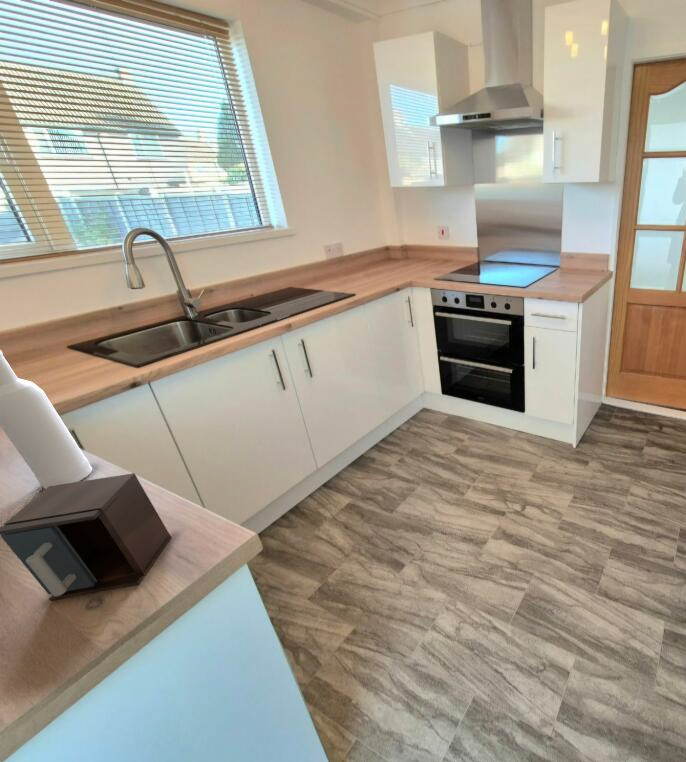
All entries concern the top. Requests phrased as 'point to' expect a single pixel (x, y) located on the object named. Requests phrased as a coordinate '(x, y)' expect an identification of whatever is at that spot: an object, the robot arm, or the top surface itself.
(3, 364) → the bottle
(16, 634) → the top surface
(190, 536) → the top surface
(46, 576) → the glass door
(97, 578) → the walnut cabinet
